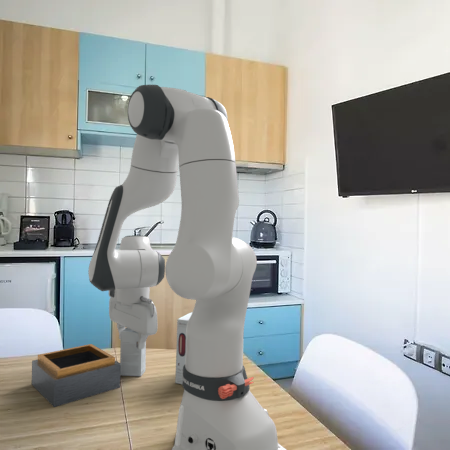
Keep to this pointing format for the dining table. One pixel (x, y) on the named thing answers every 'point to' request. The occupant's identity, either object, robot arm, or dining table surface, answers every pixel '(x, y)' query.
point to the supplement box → (181, 346)
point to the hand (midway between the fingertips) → (131, 343)
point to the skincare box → (131, 354)
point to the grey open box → (74, 374)
